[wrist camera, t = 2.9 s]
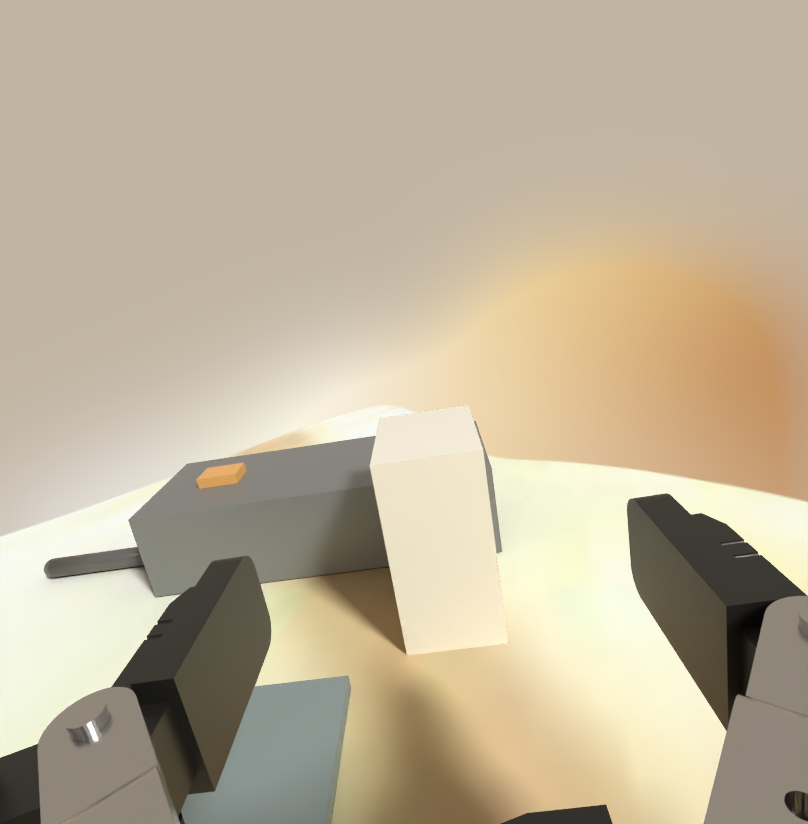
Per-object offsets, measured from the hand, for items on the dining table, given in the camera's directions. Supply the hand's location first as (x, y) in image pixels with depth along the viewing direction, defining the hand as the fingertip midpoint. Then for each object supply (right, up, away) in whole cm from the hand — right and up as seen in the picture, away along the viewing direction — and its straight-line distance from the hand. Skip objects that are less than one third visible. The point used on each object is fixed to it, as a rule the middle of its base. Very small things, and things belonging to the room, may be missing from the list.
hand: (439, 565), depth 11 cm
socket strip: (-10, -5, +23) cm, 26 cm away
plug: (+2, -6, +16) cm, 17 cm away
